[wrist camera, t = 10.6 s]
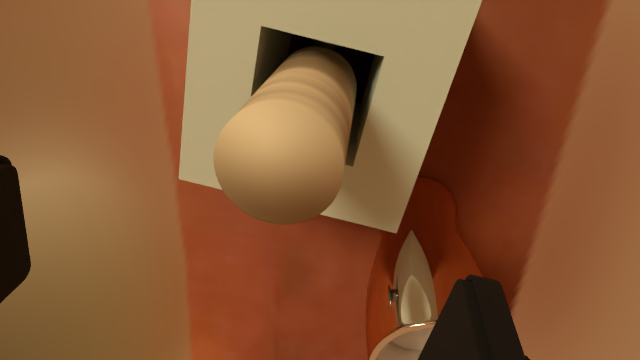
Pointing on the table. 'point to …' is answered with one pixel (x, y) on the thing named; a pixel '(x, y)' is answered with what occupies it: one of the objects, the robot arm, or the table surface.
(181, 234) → the table surface
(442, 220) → the beer glass
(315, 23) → the socket
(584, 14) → the table surface
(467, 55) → the table surface
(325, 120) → the peg
